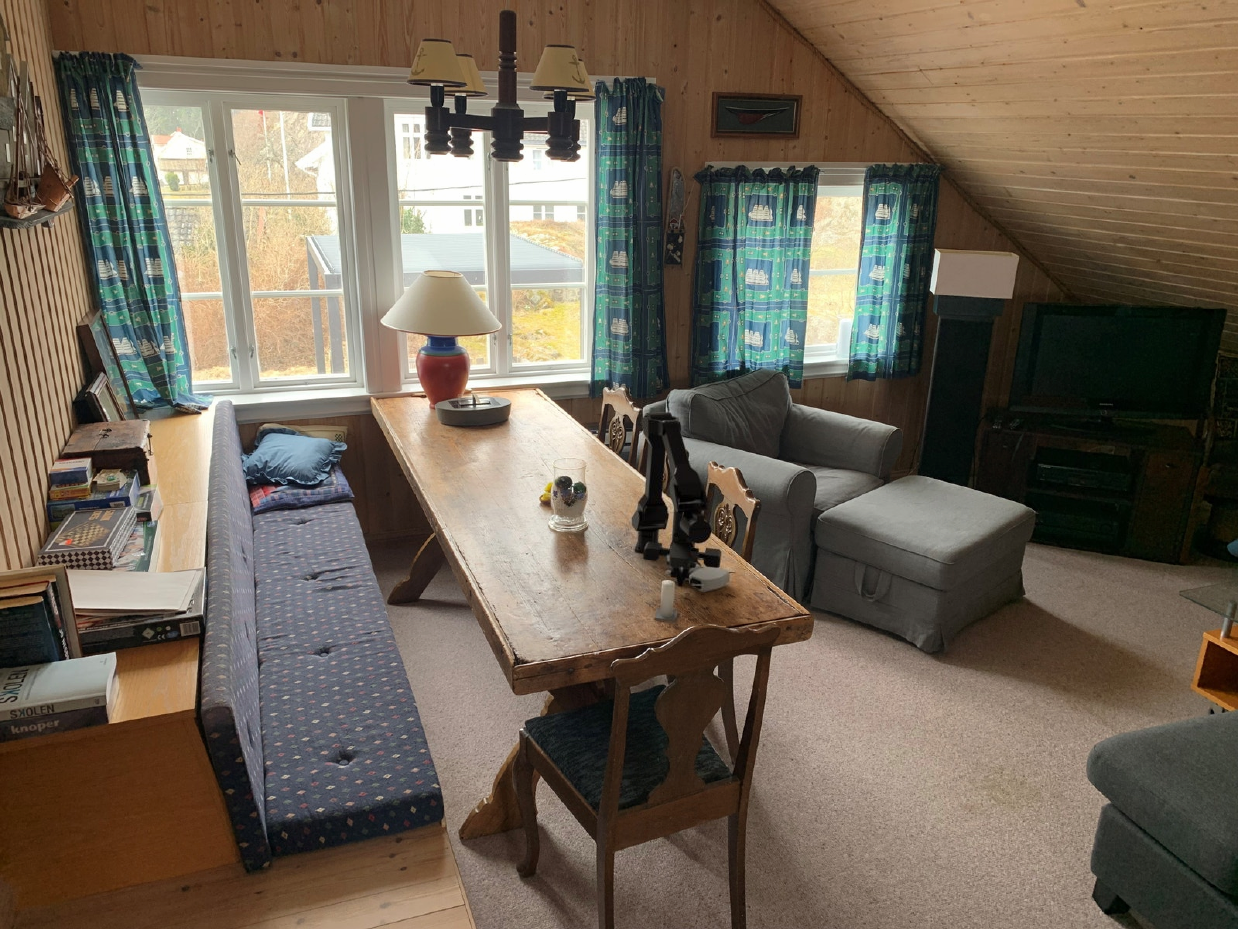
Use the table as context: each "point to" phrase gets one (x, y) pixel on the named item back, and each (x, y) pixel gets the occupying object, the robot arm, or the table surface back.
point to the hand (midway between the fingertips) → (680, 586)
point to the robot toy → (705, 577)
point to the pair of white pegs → (667, 602)
